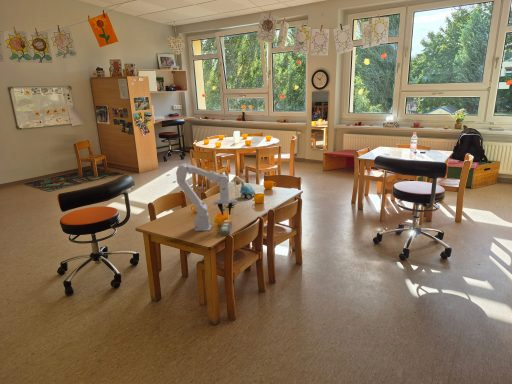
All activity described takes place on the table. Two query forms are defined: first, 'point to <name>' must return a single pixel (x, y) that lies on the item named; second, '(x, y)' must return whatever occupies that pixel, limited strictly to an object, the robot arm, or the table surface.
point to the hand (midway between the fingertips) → (226, 214)
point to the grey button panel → (226, 231)
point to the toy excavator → (245, 189)
